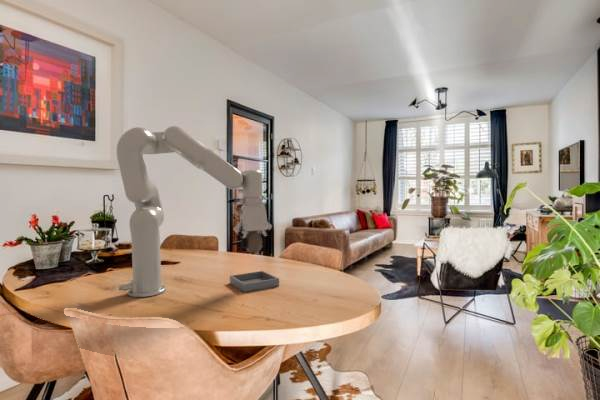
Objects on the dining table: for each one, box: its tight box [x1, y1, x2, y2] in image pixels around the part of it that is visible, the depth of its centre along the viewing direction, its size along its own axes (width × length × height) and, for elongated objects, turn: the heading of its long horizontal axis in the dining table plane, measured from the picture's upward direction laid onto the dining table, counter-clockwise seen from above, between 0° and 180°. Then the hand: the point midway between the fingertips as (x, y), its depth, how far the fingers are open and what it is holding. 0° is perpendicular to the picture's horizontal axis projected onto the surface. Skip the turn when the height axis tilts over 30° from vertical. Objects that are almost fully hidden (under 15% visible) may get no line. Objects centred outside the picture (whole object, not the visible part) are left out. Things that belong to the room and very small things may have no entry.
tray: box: [229, 270, 280, 293], centre depth 132 cm, size 15×15×3 cm
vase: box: [245, 231, 263, 253], centre depth 131 cm, size 7×7×9 cm
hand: (253, 246), depth 131 cm, fingers closed on vase, 6 cm apart
